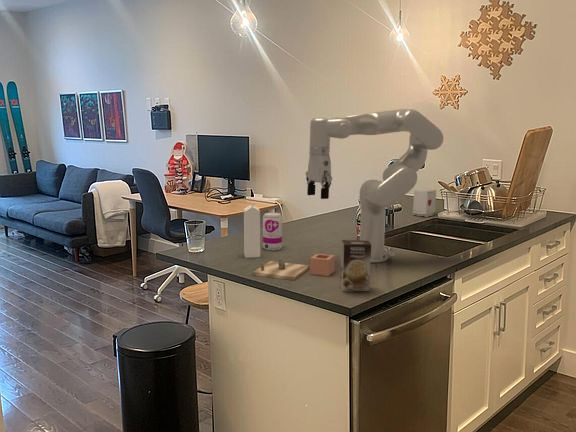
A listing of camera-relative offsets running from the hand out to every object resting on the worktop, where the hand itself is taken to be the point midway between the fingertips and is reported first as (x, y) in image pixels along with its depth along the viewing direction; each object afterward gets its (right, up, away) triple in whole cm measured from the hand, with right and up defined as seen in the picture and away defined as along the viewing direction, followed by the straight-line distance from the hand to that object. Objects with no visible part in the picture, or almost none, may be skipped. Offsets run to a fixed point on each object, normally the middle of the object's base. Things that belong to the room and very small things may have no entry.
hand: (317, 196), depth 219 cm
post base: (-14, -28, -8) cm, 32 cm away
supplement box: (+65, -7, +102) cm, 121 cm away
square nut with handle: (+2, -28, -6) cm, 28 cm away
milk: (-26, -24, +15) cm, 38 cm away
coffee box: (+11, -32, -27) cm, 43 cm away
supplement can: (-18, -21, +27) cm, 39 cm away
